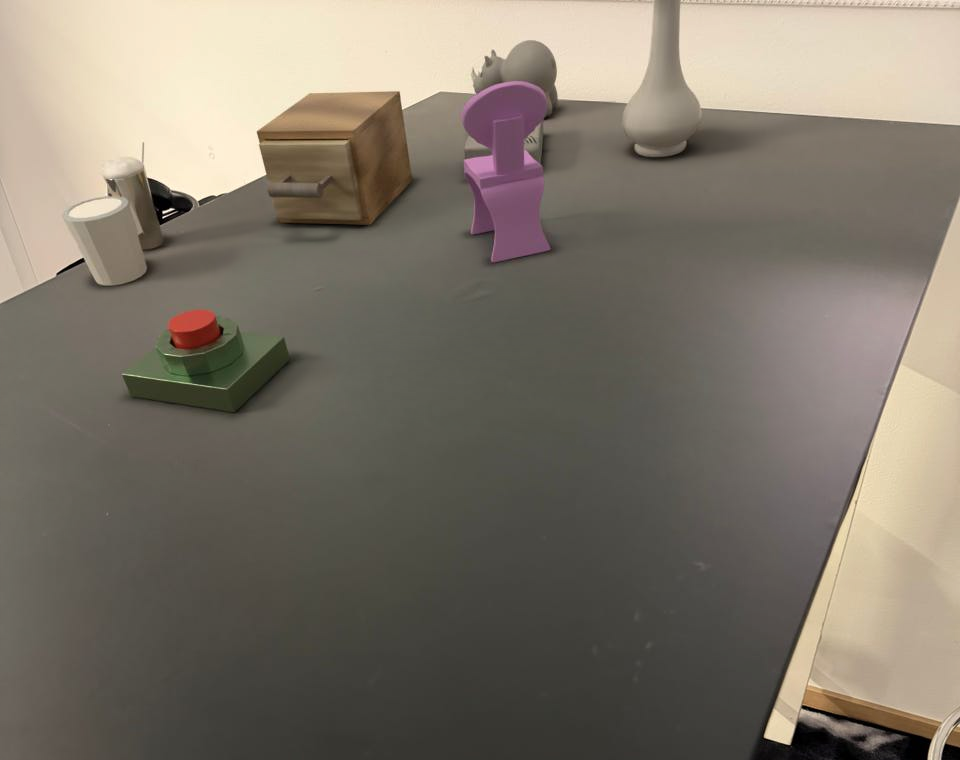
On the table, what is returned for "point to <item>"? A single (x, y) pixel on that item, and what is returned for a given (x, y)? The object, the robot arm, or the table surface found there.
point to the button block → (208, 369)
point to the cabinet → (354, 142)
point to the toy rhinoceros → (521, 70)
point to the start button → (194, 329)
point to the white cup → (107, 239)
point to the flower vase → (662, 92)
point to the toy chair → (506, 167)
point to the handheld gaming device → (530, 145)
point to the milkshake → (135, 196)
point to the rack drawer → (312, 179)
